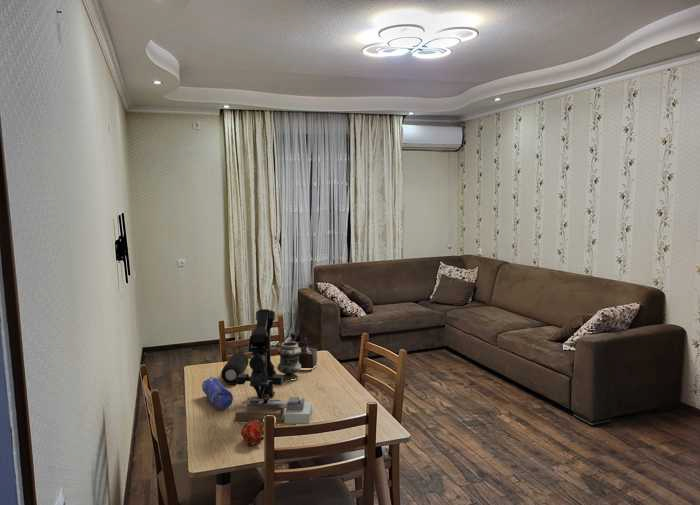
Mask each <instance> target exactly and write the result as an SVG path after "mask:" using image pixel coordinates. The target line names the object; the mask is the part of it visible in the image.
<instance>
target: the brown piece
mask: <svg viewBox="0 0 700 505" xmlns="http://www.w3.org/2000/svg"><path fill="white" fill-rule="evenodd" d="M289 338H290V339H291V342H296V343H298V344H303V343H304V346H303V347H299V348H300V349H301V353H300V354H299V363H300V364H301V368H313V367H314V366H315V365H316V363H317V364H318V348H314V347H310V346H309V345H308V344H307V342H308V339H307V337H304V339H303V340H302V341H297V333H296V332H293V331H292V332H290V334H289Z"/></svg>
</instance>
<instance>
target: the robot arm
mask: <svg viewBox="0 0 700 505" xmlns="http://www.w3.org/2000/svg"><path fill="white" fill-rule="evenodd" d="M255 321H257V322H256V327H255V328H254V329H252V332H251V335H249V343H248V344H249V345H248V352H249V353H252V355H251V358H250V359H249V363H248V365H249V367H250V369H252V370H251V374H250V375H249V373H243V374H239V376H238V377H237V378H236V383H235V384H236V385H245V384H246V382H249V383H250V384H249V386H250V387H252V388H253V389H254V390H255V393H256V395H257V398H258V400H263V395H264V394H269V399H270V398H271V399H272V398H273V397H274V396H275V393H276V392H275V391H274V386H282V384H283V382H284V381H283V375H284V374H283V373H281V374H280V373H277V371H276V370H275V365H274V364H273V362H272V358H271V355H272V354H271V352H272V351H271V350H272V348H271V343H272V342H271V332H272V330H271V329H272V328H273V326H274V324H275V321H276V312H275V311H274V310H270V309H268V308H266V309H265V308H259V309H258V310H257V311H256V312H255Z"/></svg>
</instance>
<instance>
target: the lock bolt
mask: <svg viewBox="0 0 700 505" xmlns="http://www.w3.org/2000/svg"><path fill="white" fill-rule="evenodd" d="M262 400H263V401H259V403H258V404H279V408H284V409H286V408H287V404H288V401H289V400H287V401H286V400H281V401H269V400H270V398H269V394H264V395H263V397H262Z"/></svg>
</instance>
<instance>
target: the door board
mask: <svg viewBox="0 0 700 505" xmlns="http://www.w3.org/2000/svg"><path fill="white" fill-rule="evenodd" d="M259 401H263V399H261V400H259V399H249V401H241V404H240V405H239V406H238V408H237V410H236V411H235V413H234V414H235V419H234V420H235V423H236V422H249V421H254V420H258V421H259V422H261V423H262V422H263V419H264V416H267V415H274V416H275V417H276V423H275V424H280V423H281V421H282V418H283V416H284V414H285V408H279V404H258V403H259ZM269 401H282V400H281V399H269ZM262 424H263V423H262Z"/></svg>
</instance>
